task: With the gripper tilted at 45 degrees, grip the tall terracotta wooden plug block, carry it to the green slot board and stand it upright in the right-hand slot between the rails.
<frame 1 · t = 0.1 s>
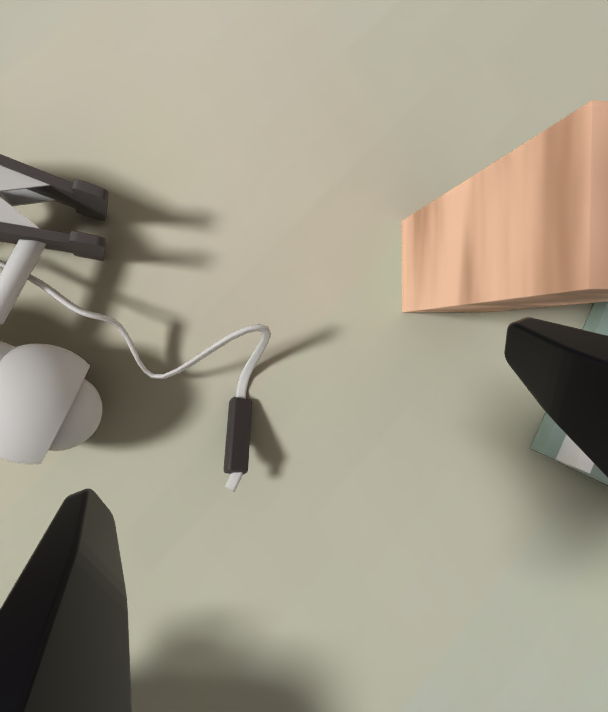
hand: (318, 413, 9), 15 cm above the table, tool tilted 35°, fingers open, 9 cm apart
clip-on lamp: (103, 338, 23), on the table
plug block: (443, 267, 25), on the table
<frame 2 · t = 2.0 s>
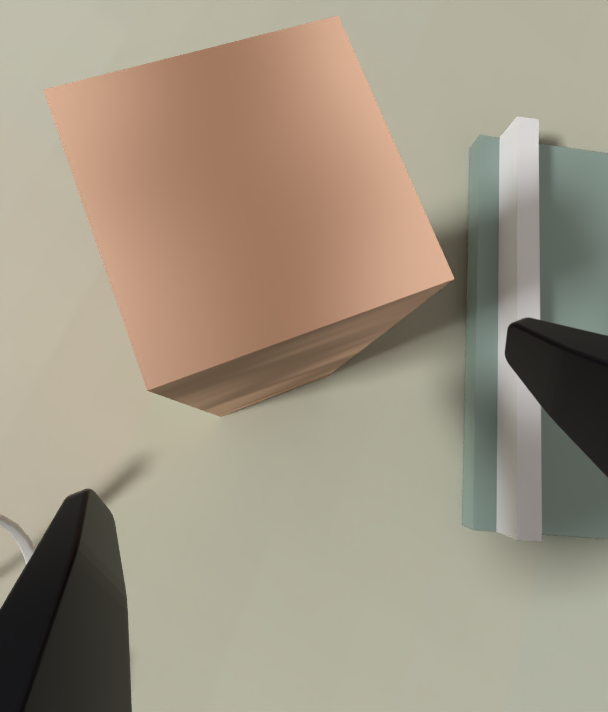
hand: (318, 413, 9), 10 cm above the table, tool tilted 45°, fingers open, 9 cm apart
plug block: (255, 342, 20), on the table
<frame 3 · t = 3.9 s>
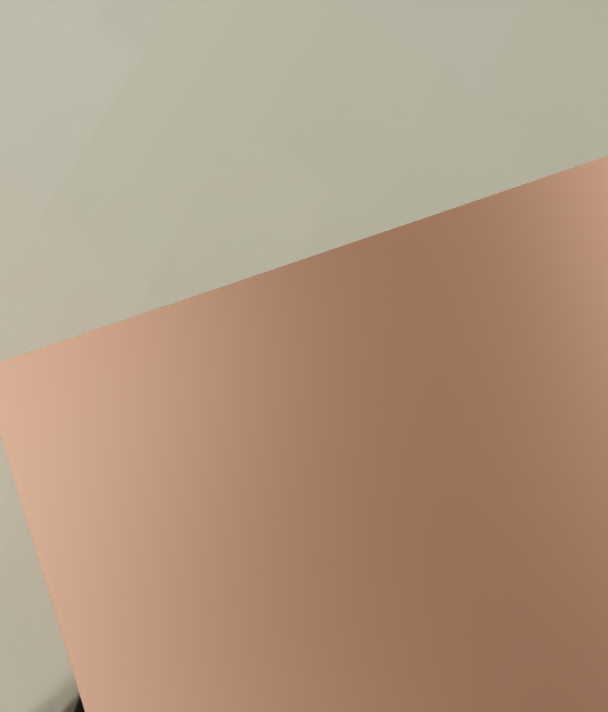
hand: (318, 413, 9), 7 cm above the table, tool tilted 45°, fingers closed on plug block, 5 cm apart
plug block: (306, 458, 16), on the table, touching gripper
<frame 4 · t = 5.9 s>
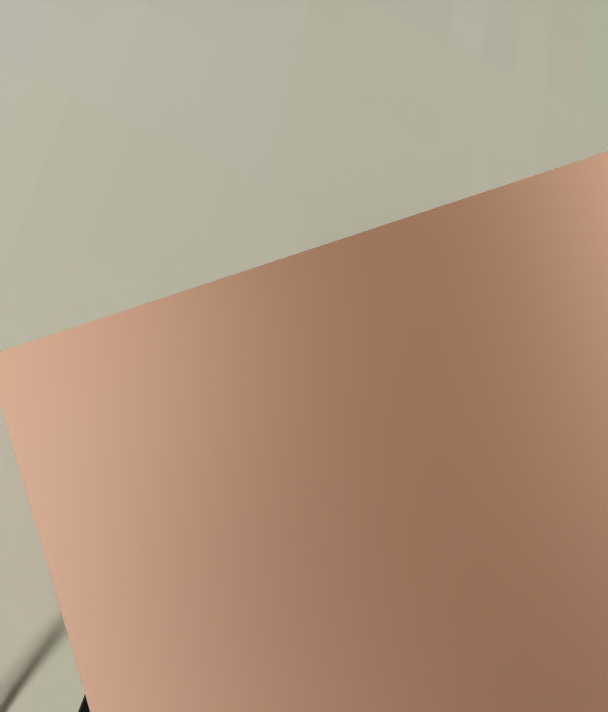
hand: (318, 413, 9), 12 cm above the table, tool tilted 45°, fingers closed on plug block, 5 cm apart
plug block: (309, 456, 16), point 6 cm above the table, touching gripper
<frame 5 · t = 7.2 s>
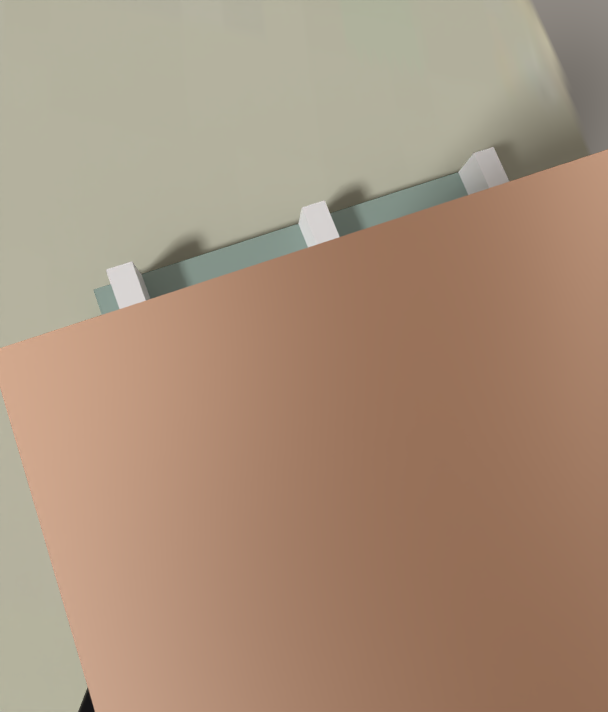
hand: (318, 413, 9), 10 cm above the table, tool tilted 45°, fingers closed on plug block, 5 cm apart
slot board: (380, 413, 20), on the table
plug block: (310, 455, 16), point 4 cm above the table, touching gripper
when the fingers open (9 cm above the table, at t = 8.3 s): plug block drops 1 cm, resting on slot board.
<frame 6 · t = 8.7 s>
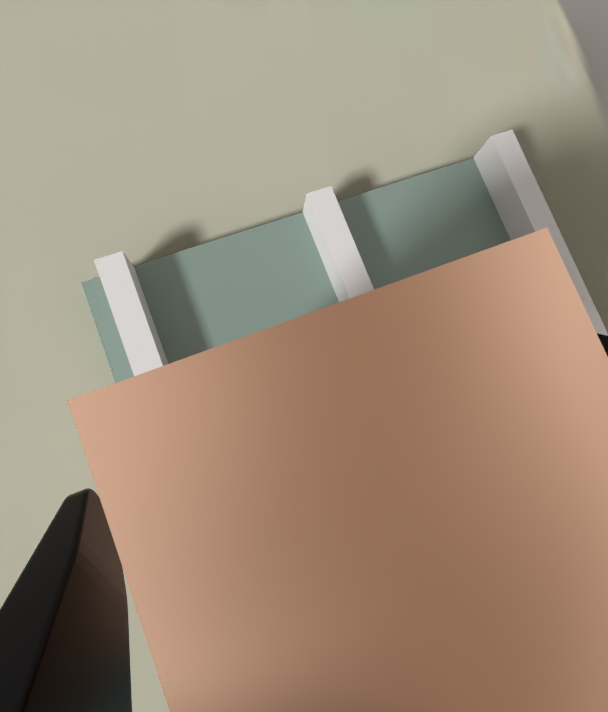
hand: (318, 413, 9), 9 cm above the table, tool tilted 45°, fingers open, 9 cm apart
slot board: (390, 415, 19), on the table
plug block: (299, 457, 17), point 1 cm above the table, touching slot board
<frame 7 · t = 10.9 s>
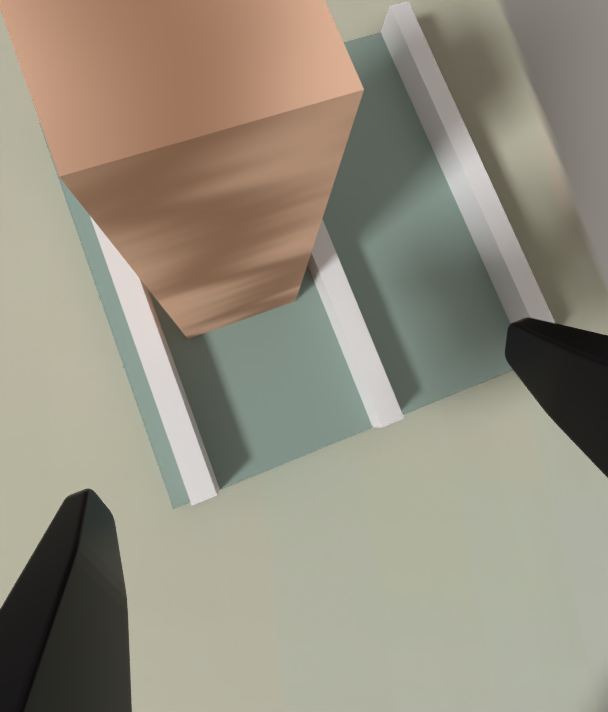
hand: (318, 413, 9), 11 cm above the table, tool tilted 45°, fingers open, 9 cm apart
slot board: (306, 247, 22), on the table
plug block: (223, 268, 20), point 1 cm above the table, touching slot board
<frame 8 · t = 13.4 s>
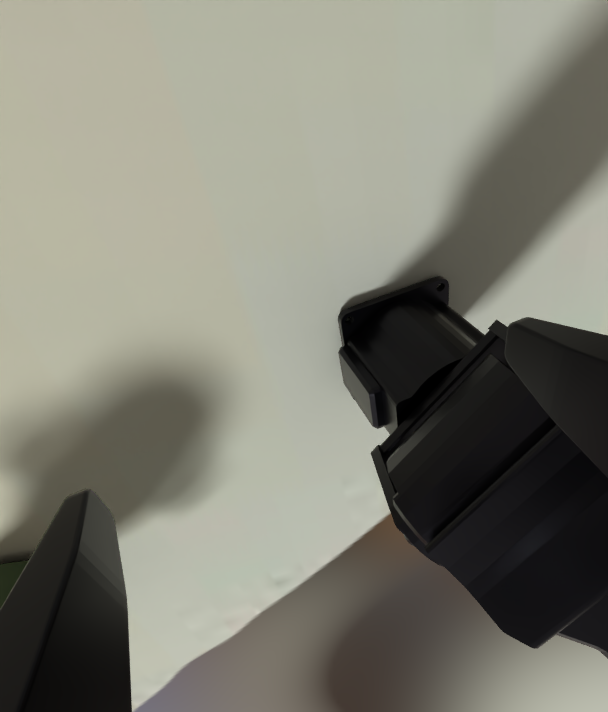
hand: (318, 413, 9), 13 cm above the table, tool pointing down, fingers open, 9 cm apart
character mug: (20, 581, 28), on the table
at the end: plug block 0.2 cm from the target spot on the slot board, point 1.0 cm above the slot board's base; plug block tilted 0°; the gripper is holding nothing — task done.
